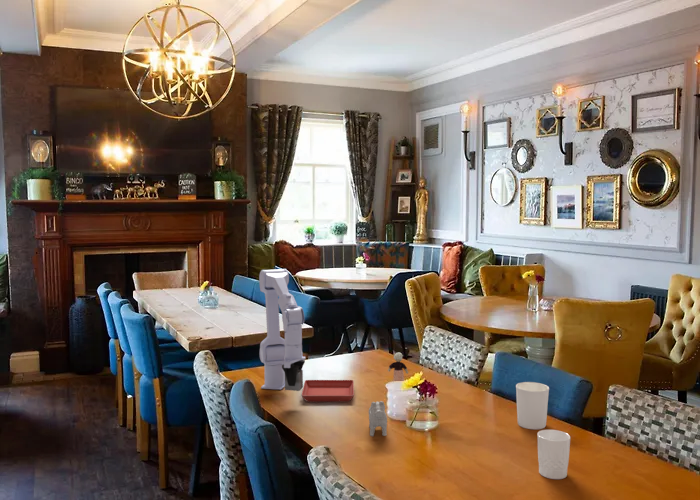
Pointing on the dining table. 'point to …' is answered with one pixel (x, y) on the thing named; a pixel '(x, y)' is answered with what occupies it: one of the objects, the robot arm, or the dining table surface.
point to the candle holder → (532, 404)
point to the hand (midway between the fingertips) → (293, 383)
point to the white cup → (553, 453)
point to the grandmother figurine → (398, 367)
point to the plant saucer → (328, 390)
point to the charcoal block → (298, 383)
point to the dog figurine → (377, 417)
